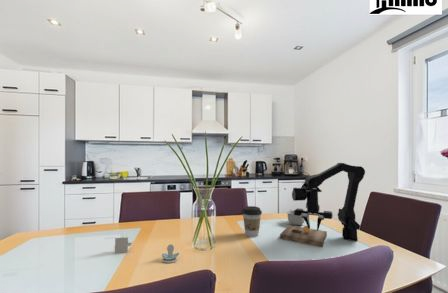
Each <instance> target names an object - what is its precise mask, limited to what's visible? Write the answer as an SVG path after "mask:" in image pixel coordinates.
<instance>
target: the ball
mask: <svg viewBox="0 0 448 293" xmlns="http://www.w3.org/2000/svg"><path fill="white" fill-rule="evenodd" d="M311 229H312V228H310V229H309V228H308V226H307V225H304V226H303V231H304V233H306V234H308V233H310V231H311Z"/></svg>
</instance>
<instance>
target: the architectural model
mask: <svg viewBox="0 0 448 293" xmlns="http://www.w3.org/2000/svg"><path fill="white" fill-rule="evenodd" d="M114 243H115V244H114V254H116V255H117V254H128V252H129V249H128V248H129V247H131V246H132V245H133V242H129V237H127V236H126V237H115V240H114Z"/></svg>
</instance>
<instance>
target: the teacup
mask: <svg viewBox="0 0 448 293" xmlns="http://www.w3.org/2000/svg"><path fill="white" fill-rule="evenodd" d="M295 210H296V209H289V210H287V212H286V213H287V221H288V222H289V224H291V226H297V227H301V226H302V225H303V224H305V220H304V218H302V214H301V215H300V216H297V215H294V211H295Z"/></svg>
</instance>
